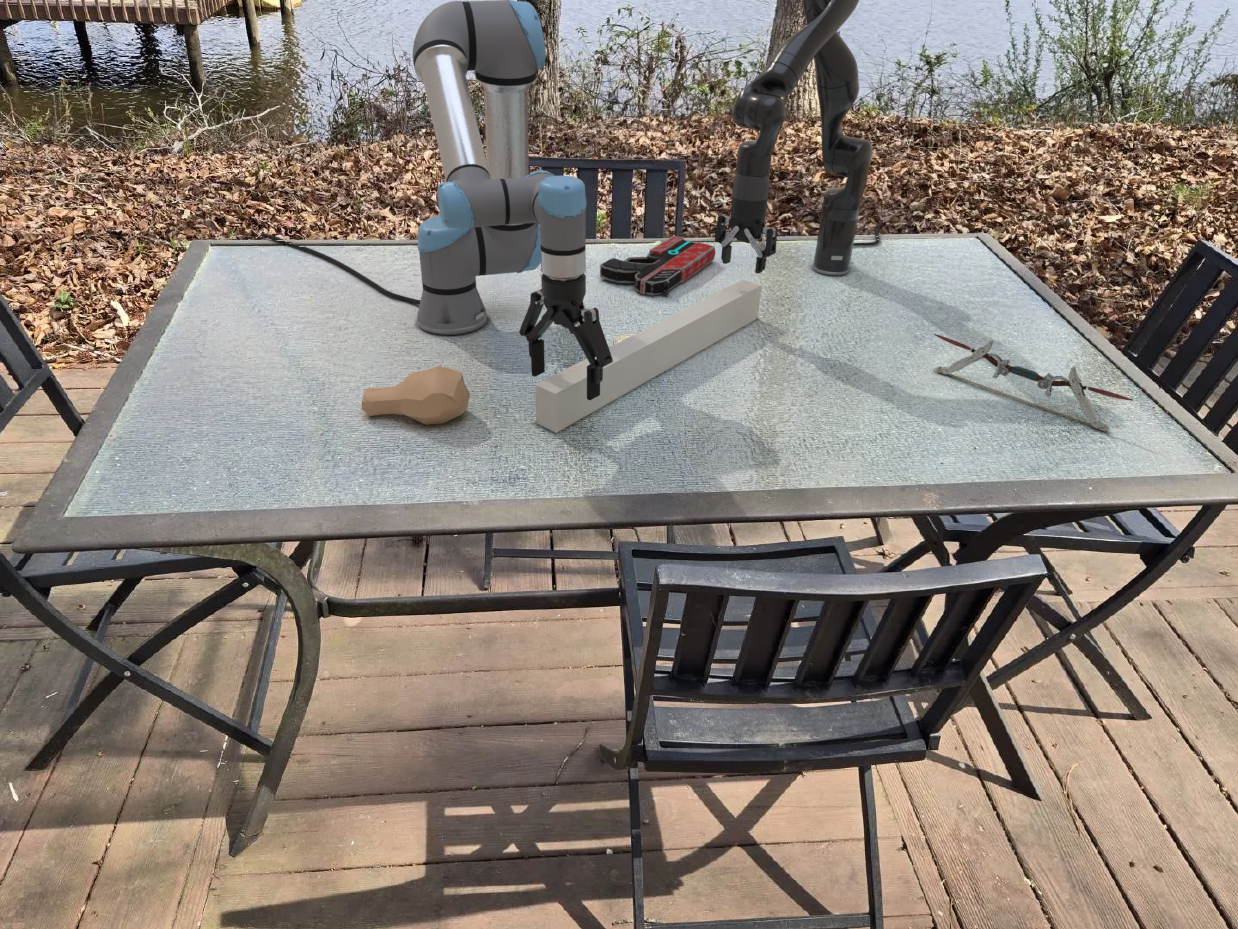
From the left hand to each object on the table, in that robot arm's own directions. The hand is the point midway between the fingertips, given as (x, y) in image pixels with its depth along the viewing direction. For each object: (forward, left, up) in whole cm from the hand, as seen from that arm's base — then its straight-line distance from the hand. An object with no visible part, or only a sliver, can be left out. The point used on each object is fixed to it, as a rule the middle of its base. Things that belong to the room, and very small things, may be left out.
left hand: (565, 385), depth 159 cm
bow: (+54, +71, -7) cm, 90 cm away
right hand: (-6, +58, +6) cm, 58 cm away
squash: (-19, -20, -7) cm, 28 cm away
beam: (-3, +29, -7) cm, 30 cm away
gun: (-39, +66, -7) cm, 77 cm away
